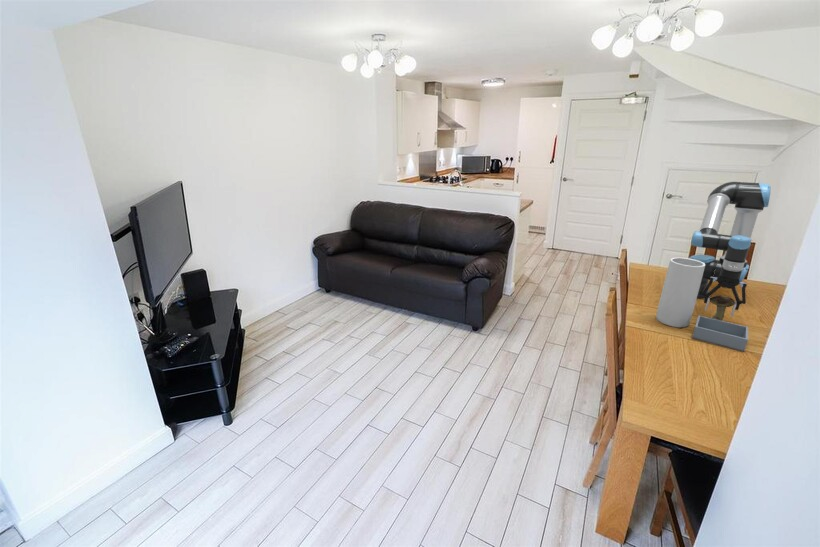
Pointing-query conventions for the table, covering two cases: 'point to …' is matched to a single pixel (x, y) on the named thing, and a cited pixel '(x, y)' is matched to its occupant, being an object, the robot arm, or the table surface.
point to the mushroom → (721, 305)
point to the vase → (680, 291)
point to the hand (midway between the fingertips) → (718, 312)
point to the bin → (721, 333)
